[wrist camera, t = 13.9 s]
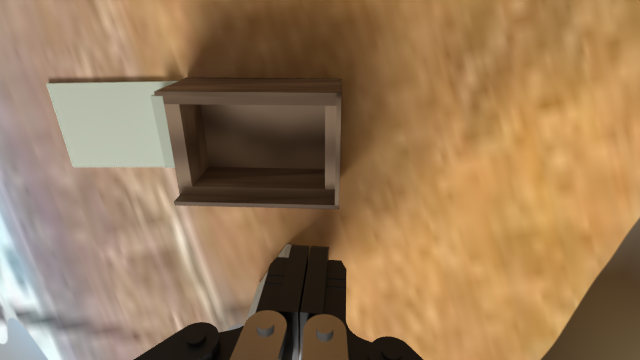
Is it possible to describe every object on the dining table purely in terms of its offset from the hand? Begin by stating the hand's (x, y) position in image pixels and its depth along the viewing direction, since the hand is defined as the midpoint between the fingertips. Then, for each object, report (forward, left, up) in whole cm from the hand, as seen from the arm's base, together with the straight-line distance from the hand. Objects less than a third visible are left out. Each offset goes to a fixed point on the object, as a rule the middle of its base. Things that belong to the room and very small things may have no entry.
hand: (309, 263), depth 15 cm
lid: (+2, -22, -27) cm, 35 cm away
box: (+2, -7, -26) cm, 27 cm away
